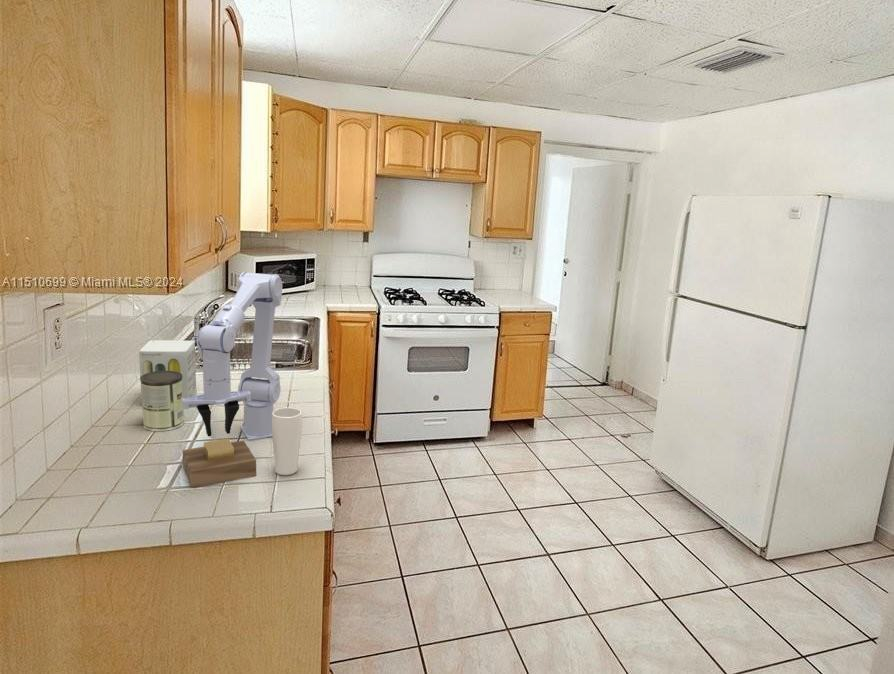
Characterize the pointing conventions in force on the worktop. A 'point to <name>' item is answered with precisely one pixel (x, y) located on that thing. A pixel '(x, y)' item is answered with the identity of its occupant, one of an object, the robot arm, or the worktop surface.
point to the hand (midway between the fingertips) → (218, 433)
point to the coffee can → (162, 400)
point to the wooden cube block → (218, 450)
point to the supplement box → (171, 361)
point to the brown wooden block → (218, 466)
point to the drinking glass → (286, 439)
